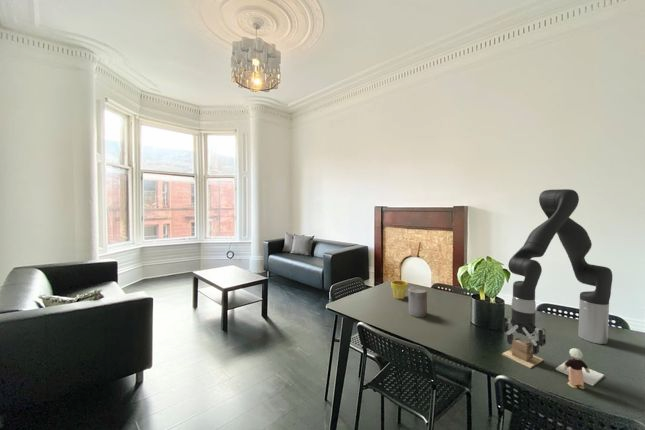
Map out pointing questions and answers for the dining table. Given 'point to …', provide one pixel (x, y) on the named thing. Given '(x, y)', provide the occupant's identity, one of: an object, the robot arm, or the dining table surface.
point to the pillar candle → (417, 301)
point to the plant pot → (399, 288)
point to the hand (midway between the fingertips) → (522, 348)
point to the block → (522, 349)
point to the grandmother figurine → (576, 368)
